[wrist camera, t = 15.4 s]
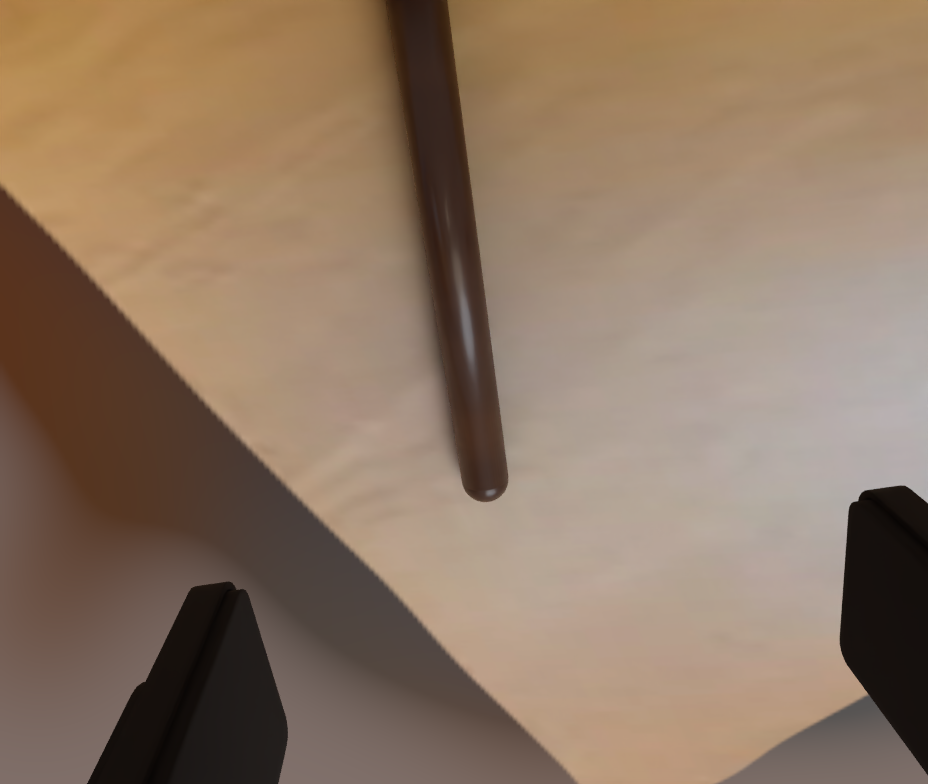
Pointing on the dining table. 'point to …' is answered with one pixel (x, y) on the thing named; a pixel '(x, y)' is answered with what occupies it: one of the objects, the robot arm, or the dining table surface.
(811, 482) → the dining table surface
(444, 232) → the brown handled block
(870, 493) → the robot arm
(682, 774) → the dining table surface
